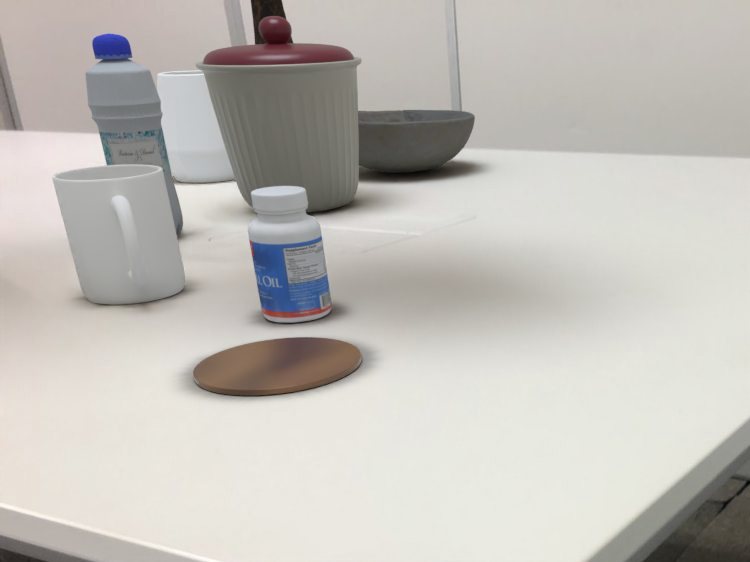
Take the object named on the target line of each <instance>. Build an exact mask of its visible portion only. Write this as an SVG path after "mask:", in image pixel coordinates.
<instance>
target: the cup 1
mask: <svg viewBox="0 0 750 562" xmlns="http://www.w3.org/2000/svg"><path fill="white" fill-rule="evenodd" d="M51 178H52V183H53V187H54V190H55V191H54V192H55V194H56V198H57V202H58V206H59V210H60V213H61V218H62V221H63V226H64V230H65V233H66V237H67V241H68V244H69V248H70V252H71V256H72V260H73V263H74V268H75V272H76V276H77V280H78V283H79V286H80V289H81V292H82V294H83V296H84V297H85V298H86V299H87V300H88V301H89V302H91V303H94V304H99V305H100V304H101V305H129V304H130V305H131V304H140V303H147V302H151V301H157V300H162V299H165V298H169V297H172V296H174V295H176V294H179V293H181V291H183V289H184V288H185V286H186V274H185V268H184V263H183V258H182V254H181V249H180V244H179V240H178V239H179V238H178V236H177V234H176V230H175V225H174V220H173V216H172V211H171V206H170V202H169V197H168V192H167V187H166V183H165V178H164V173H163V169H162V168H161V167H159V166H154V165H108V166H107V165H97V166H88V167H81V168H75V169H69V170H65V171H64V170H63V171H61V172H58V173H55V174H53V175H52V176H51Z"/></svg>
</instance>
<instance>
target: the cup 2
mask: <svg viewBox="0 0 750 562" xmlns="http://www.w3.org/2000/svg"><path fill="white" fill-rule="evenodd" d="M156 76H157V77H156V79H157V80H156V90H157V92H158V95H159V98H160V100H161V112H162V113H163V115H162V118H161V126H162V130H163V135H164V140H165V145H166V149H167V154H168V159H169V164H170V168H171V174H172V177H173V178H174V179H175V180H176V181H177V182H181V183H190V184H191V183H192V184H197V183H198V184H203V183H204V184H205V183H207V184H208V183H217V182H218V183H219V182H229V181H234V180H235V177H234V174H233V171H232V167H231V164H230V161H229V158H228V155H227V152H226V149H225V145H224V142H223V139H222V135H221V132H220V128H219V125H218V121H217V118H216V115H215V111H214V108H213V105H212V101H211V98H210V94H209V91H208V87H207V83H206V80H205V76H204V73H203V71H201V70H199V69H194V70H175V71H162V72H158V73H157V75H156Z"/></svg>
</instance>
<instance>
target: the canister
mask: <svg viewBox="0 0 750 562" xmlns="http://www.w3.org/2000/svg"><path fill="white" fill-rule="evenodd" d="M286 19H287V18H286ZM286 19H285V18H283V17H279V16H268V17H265V18H263V19H262V20H261V21H260V23H259V32H260V35H261V37H262V38H263V39H264V41H265V42H266V43H267V44H256V45H255V44H245V45H243V44H242V45H236V46H235V45H234V46H227V47H222V48H217V49H214V50H211V51H210V52H208V53H207V54H206V55H205V56H204V58H203V60H202V61H198V62H196V63H195V67H196V69H197V70H201V71H203V73H204V76H205V80H206V83H207V87H208V91H209V94H210V98H211V101H212V105H213V108H214V111H215V115H216V118H217V121H218V125H219V128H220V132H221V135H222V139H223V142H224V145H225V149H226V152H227V155H228V158H229V161H230V164H231V167H232V171H233V174H234V177H235V179H234V180H235V183H236V186H237V188H238V191H239V193H240V195H241V197H242V198H243V200H244V201H245V202H246V204H247V205H249V206H250V207H251V208H252V209H254V208H253V207H252V197H251V192H252V191H253V190H256V189H260V188H265V187H274V186H298V187H303V188H305V190H306V195H307V200H308V208H307V209H305V210H306V214H309V213H316V212H317V213H318V212H323V211H329V210H334V209H338V208H340V207H344V206H346V205H347V204H348V205H349V203H351V202H352V201H353V199H354V198H355V196H356V195H357V191H358V187H359V181H360V180H359V178H360V177H359V176H360V175H359V174H360V173H359V172H360V165H359V130H358V111H359V97H358V95H359V93H358V91H359V89H358V69H357V68H358V66H359V65H361V64H362V58H361V57H358V56H354V55H353V53H352V52H351V51H350V50H348V48H345V47H343V46H338V45H333V44H325V43H308V42H307V43H303V42H297V43H296V42H293V43H288V41H289V40H290V38H291V37H292V33H293V31H292V30H293V29H292V25H291V23H290V22H289V21H288V20H286Z"/></svg>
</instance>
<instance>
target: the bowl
mask: <svg viewBox="0 0 750 562" xmlns="http://www.w3.org/2000/svg"><path fill="white" fill-rule="evenodd" d="M475 120H476V117H475V115H474V113H472V112H470V111H465V110H450V109H402V110H400V109H399V110H358V130H359V167H363V168H365V169H368V170H371V171H376V172H380V173H389V174H390V173H391V174H404V173H405V174H408V173H419V172H425V171H431V170H433V169H436V168H439V167H441V166H443V165H445V164H446V163H448V162H450V161H451V160H453V159H454V158H455V157H457V155H459V154H460V152H461V151H462V150H463V149H464V148H465V147H466V144H468V141H469V139H470V137H471V134H472V132H473V129H474V126H475Z"/></svg>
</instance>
